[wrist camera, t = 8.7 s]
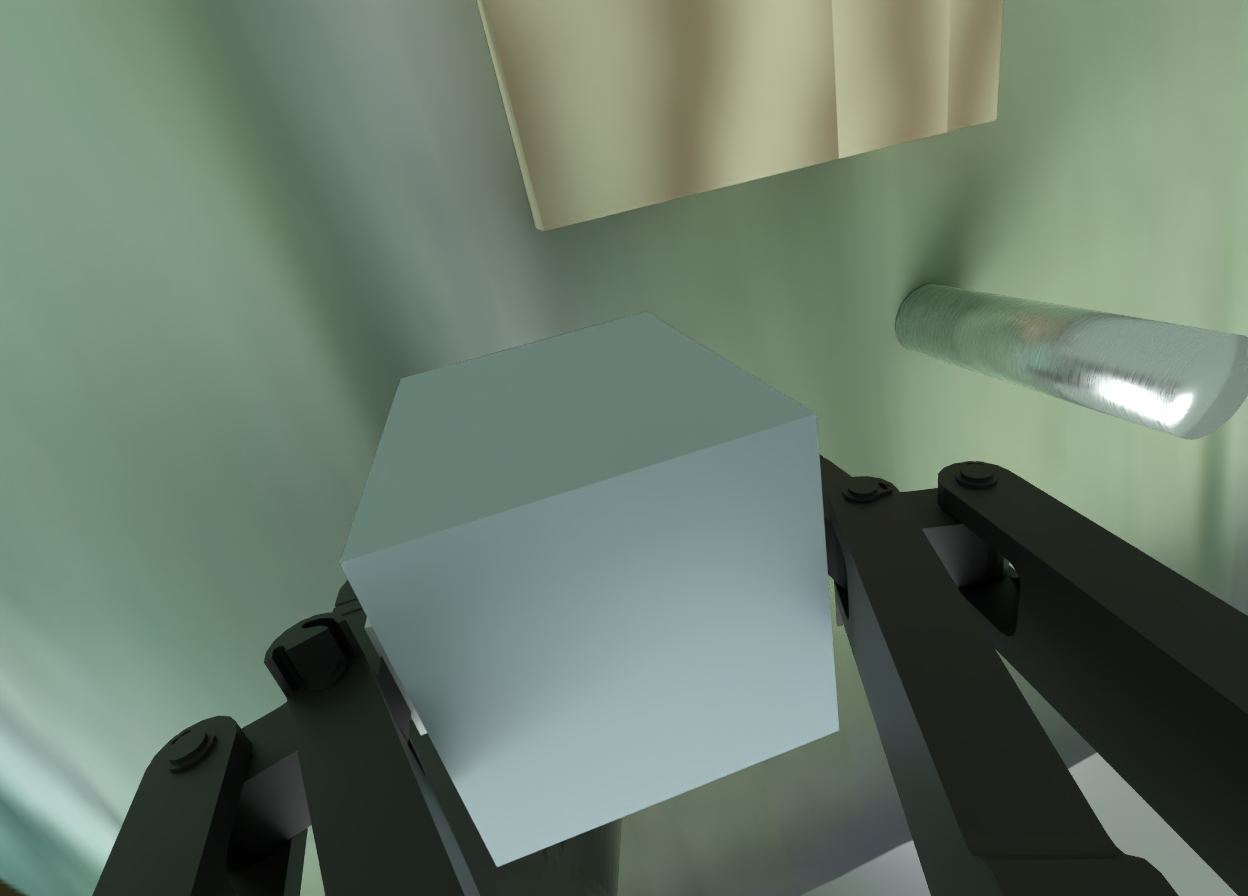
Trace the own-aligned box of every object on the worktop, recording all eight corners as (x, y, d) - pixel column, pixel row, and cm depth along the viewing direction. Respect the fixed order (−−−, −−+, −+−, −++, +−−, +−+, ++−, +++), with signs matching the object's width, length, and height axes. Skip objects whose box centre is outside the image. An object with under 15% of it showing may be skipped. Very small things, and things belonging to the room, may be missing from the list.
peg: (895, 359, 28) (1160, 452, 18) (895, 293, 27) (1180, 351, 16) (952, 341, 29) (1243, 422, 18) (954, 276, 28) (1270, 322, 17)
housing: (481, 582, 19) (497, 867, 11) (400, 378, 16) (339, 563, 8) (685, 515, 20) (838, 730, 12) (645, 311, 17) (816, 413, 9)
